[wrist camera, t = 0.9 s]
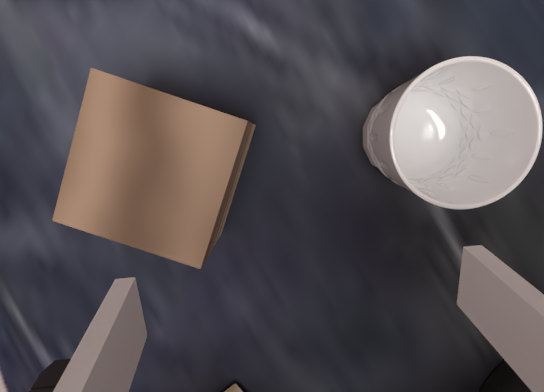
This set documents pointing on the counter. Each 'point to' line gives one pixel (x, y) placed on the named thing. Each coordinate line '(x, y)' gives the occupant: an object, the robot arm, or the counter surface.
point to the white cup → (457, 132)
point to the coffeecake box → (233, 389)
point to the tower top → (150, 169)
